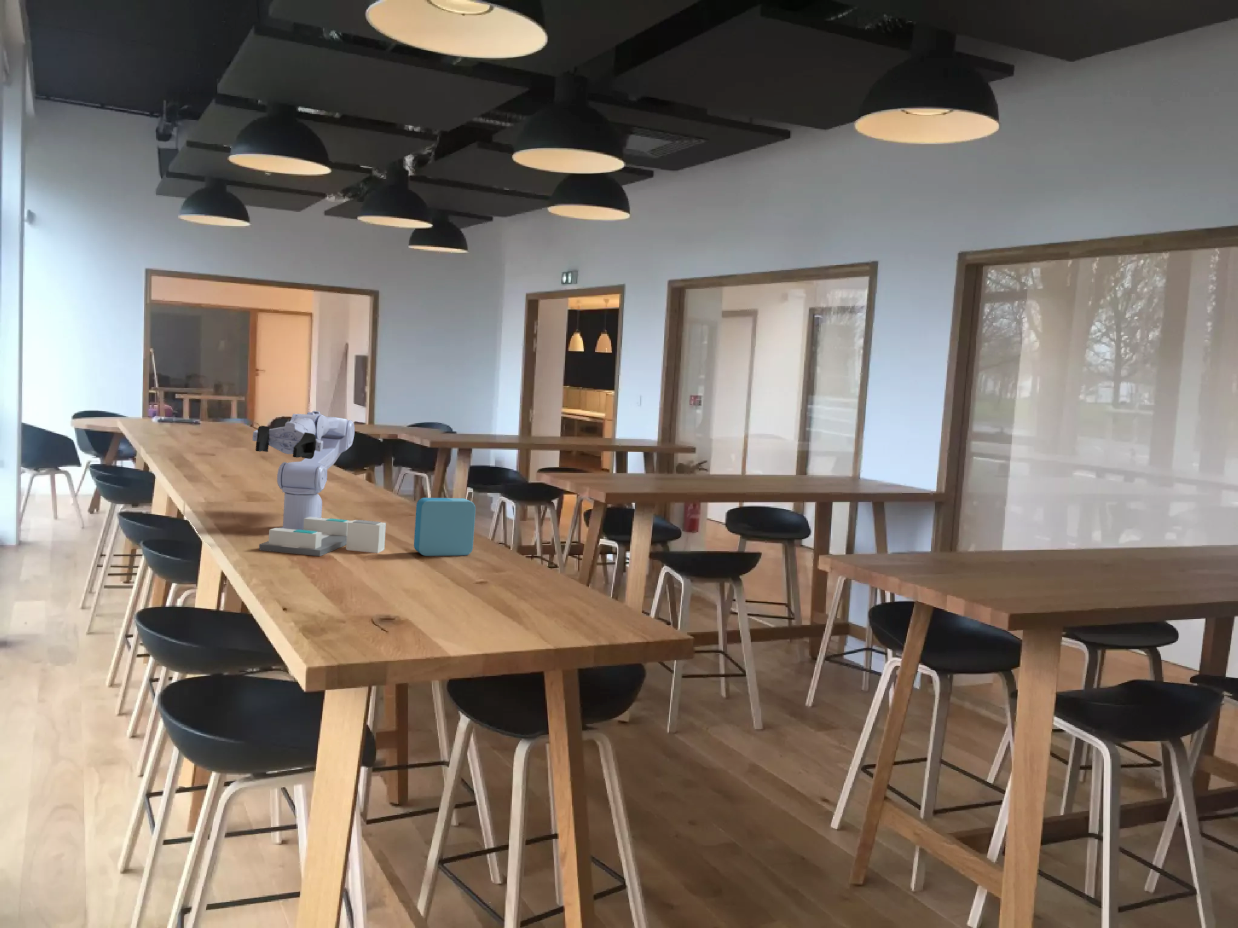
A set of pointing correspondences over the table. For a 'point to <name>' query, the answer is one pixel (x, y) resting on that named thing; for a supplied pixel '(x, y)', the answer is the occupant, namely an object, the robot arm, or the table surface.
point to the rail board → (307, 551)
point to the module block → (366, 536)
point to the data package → (444, 526)
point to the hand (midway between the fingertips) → (276, 449)
